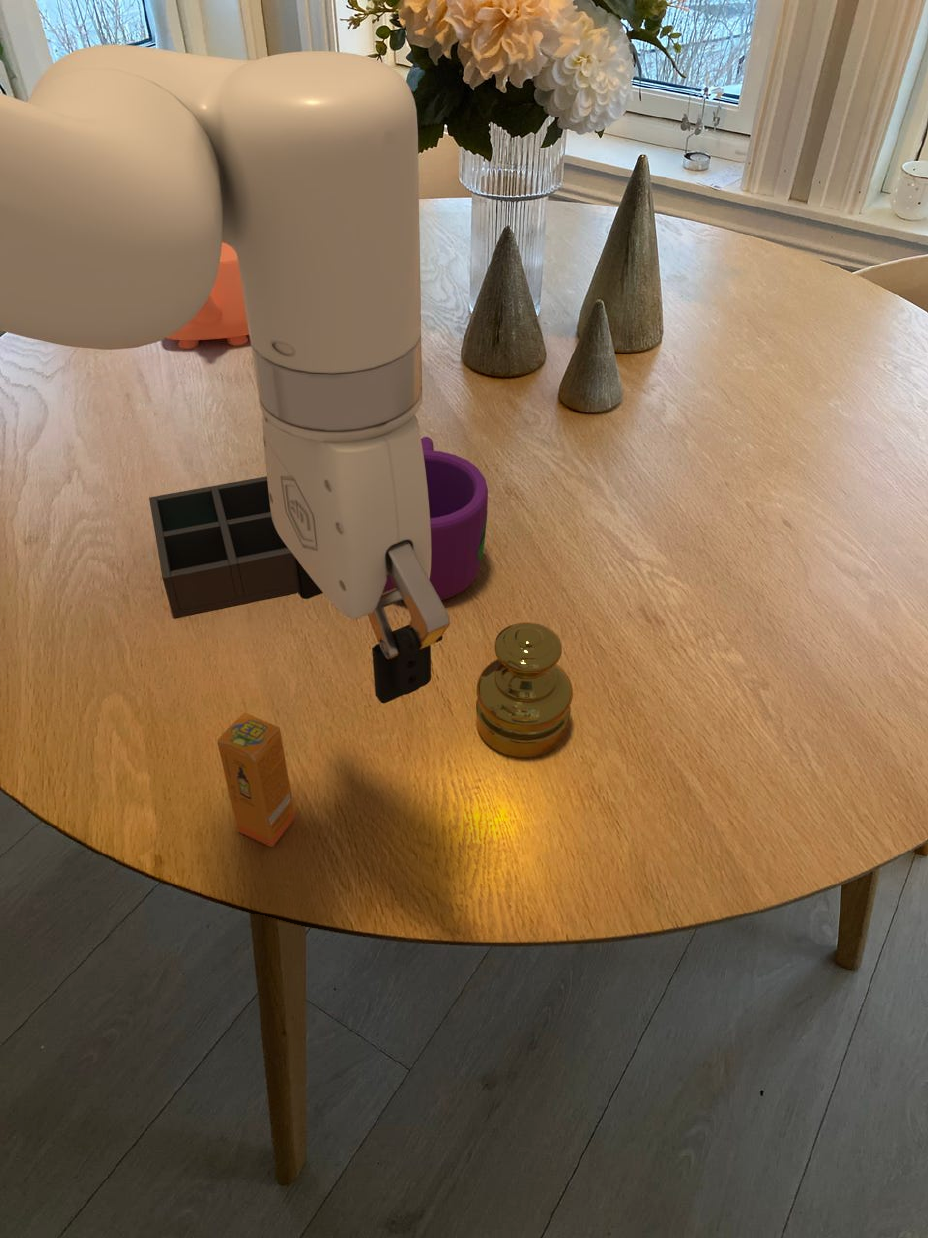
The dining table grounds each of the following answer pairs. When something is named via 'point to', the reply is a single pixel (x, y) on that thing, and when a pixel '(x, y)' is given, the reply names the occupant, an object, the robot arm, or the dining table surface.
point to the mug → (453, 520)
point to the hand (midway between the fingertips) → (361, 637)
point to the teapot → (219, 308)
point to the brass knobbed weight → (524, 692)
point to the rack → (220, 547)
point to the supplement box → (257, 778)
